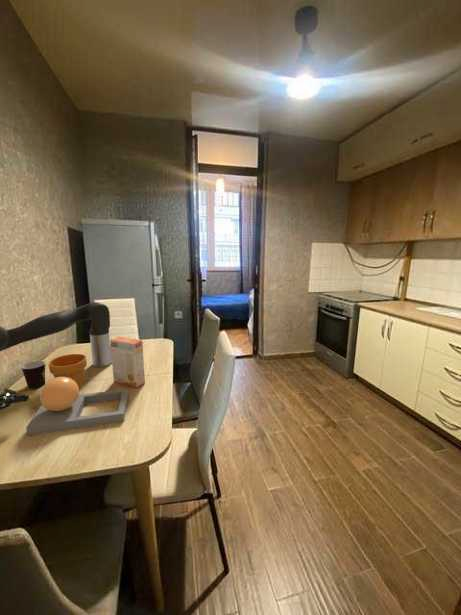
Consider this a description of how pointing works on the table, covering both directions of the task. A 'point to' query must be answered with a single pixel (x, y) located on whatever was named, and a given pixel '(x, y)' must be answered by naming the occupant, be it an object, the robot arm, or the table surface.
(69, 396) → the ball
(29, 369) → the coffee mug
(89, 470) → the table surface
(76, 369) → the flower pot
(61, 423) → the tray
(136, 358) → the cracker box
